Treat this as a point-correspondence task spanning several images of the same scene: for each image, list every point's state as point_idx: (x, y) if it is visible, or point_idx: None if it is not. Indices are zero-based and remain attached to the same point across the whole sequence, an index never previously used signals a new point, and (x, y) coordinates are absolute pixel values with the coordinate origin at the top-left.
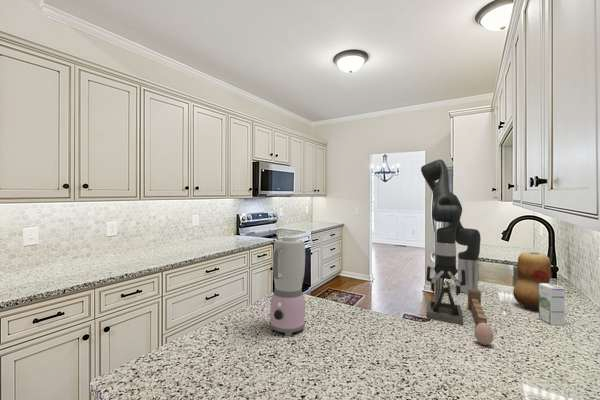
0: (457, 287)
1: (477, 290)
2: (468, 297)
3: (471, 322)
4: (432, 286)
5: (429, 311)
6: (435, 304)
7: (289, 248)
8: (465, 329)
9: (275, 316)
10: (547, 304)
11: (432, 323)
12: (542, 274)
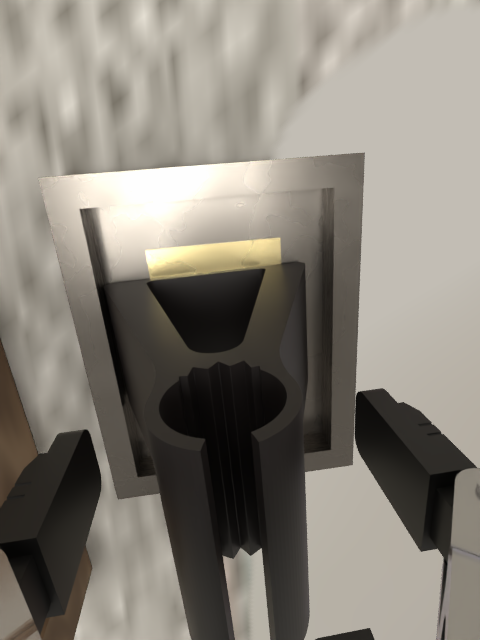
0: (23, 521)
1: None
2: (57, 631)
3: (15, 284)
4: (427, 440)
5: (341, 170)
6: (301, 316)
7: None
8: (23, 67)
9: None
10: None
11: (292, 51)
12: None
